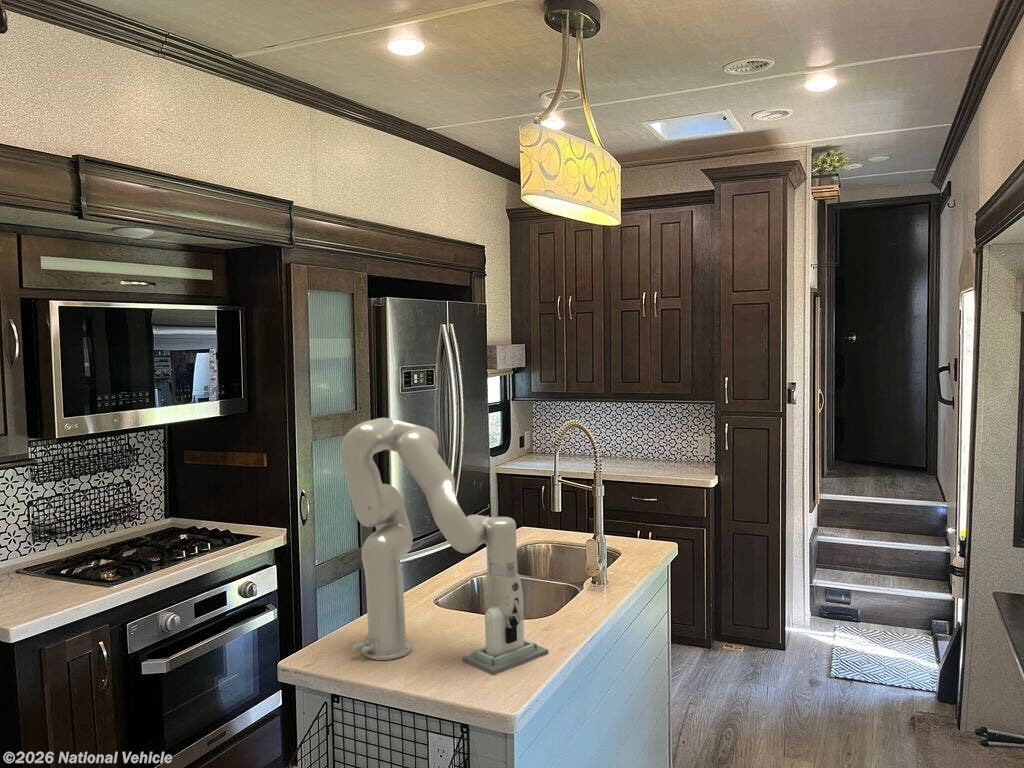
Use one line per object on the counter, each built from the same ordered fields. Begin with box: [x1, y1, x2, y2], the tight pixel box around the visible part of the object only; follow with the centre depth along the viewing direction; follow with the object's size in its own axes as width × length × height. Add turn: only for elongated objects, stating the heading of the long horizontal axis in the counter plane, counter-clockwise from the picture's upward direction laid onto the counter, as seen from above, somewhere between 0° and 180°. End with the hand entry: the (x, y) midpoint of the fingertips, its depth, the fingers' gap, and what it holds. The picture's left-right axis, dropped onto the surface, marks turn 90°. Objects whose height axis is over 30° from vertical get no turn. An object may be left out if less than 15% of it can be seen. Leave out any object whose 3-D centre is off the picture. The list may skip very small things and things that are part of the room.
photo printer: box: [484, 606, 525, 657], centre depth 196 cm, size 10×4×12 cm, turn 124°
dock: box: [462, 638, 549, 676], centre depth 196 cm, size 18×12×2 cm, turn 131°
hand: (504, 638), depth 196 cm, fingers closed on photo printer, 4 cm apart
